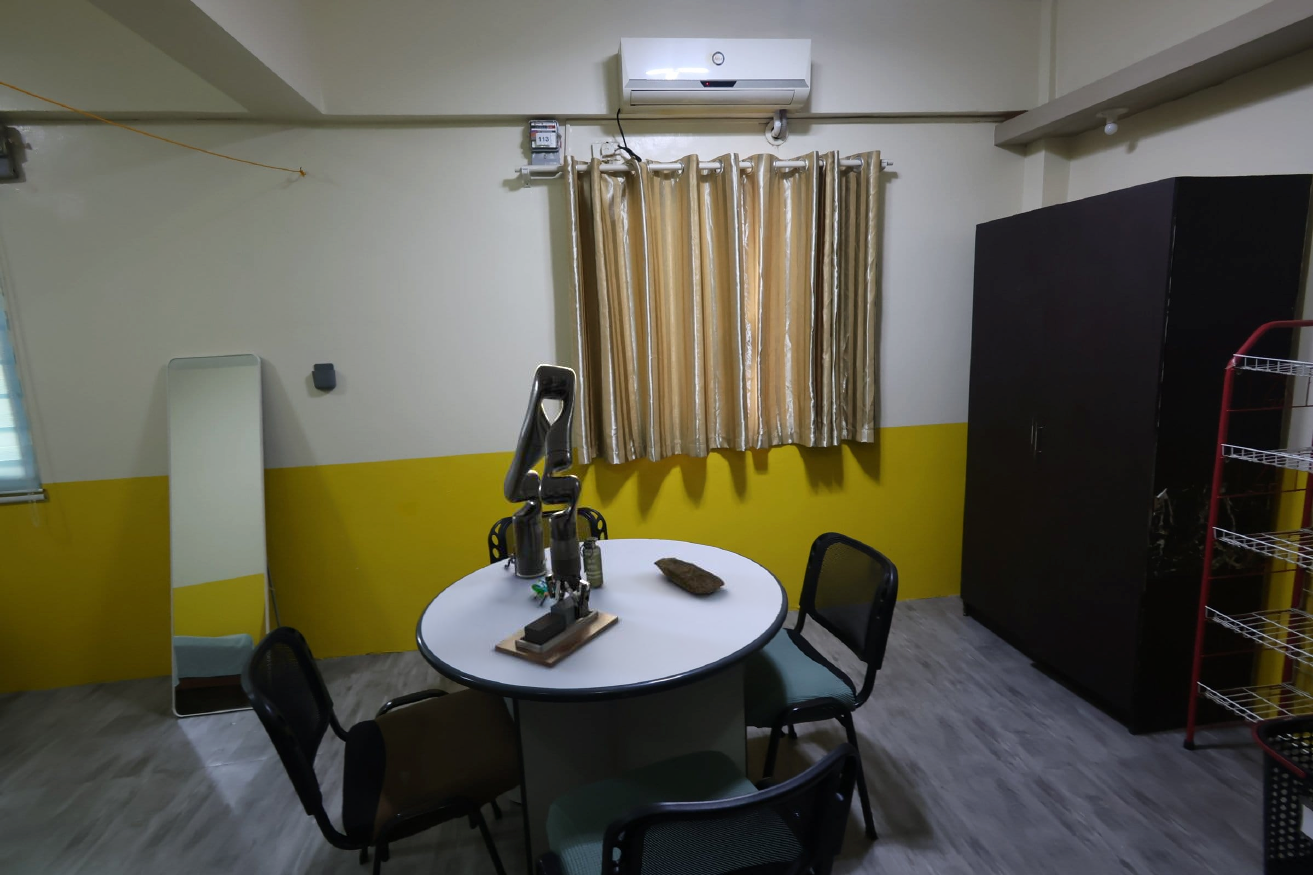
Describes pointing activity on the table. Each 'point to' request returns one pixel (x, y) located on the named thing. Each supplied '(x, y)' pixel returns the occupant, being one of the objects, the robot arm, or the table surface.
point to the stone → (689, 575)
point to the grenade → (592, 562)
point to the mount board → (558, 640)
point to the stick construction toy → (541, 591)
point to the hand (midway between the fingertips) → (570, 616)
